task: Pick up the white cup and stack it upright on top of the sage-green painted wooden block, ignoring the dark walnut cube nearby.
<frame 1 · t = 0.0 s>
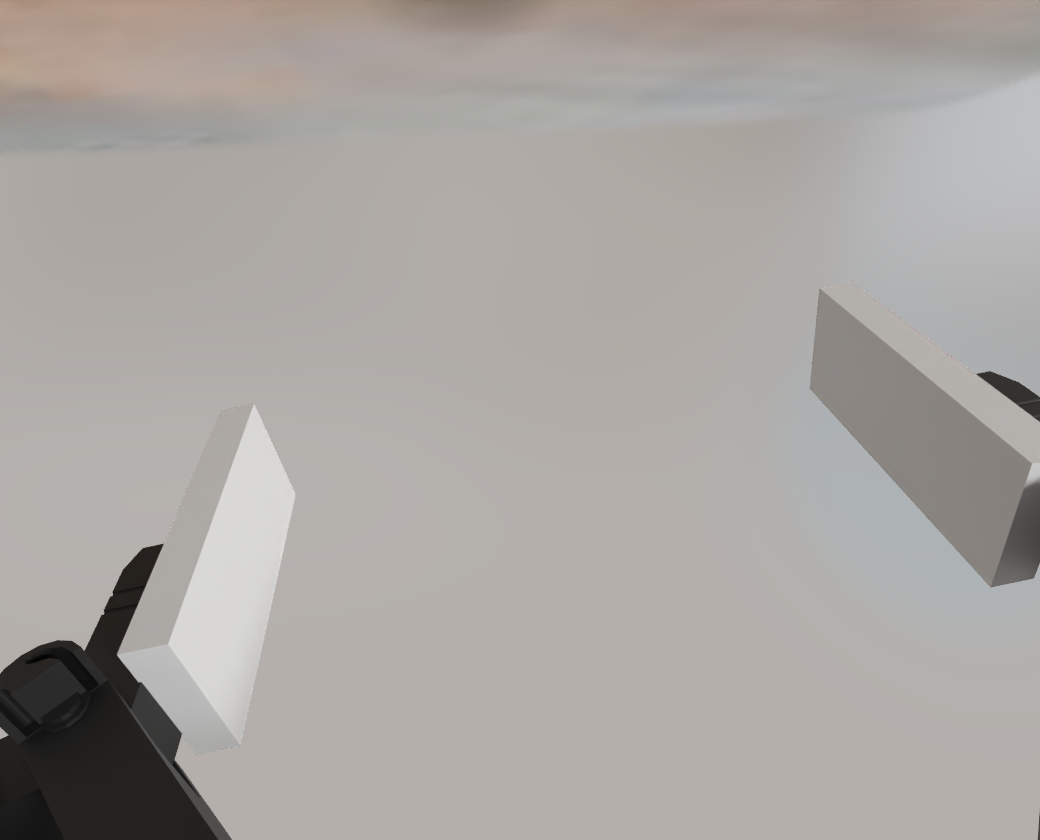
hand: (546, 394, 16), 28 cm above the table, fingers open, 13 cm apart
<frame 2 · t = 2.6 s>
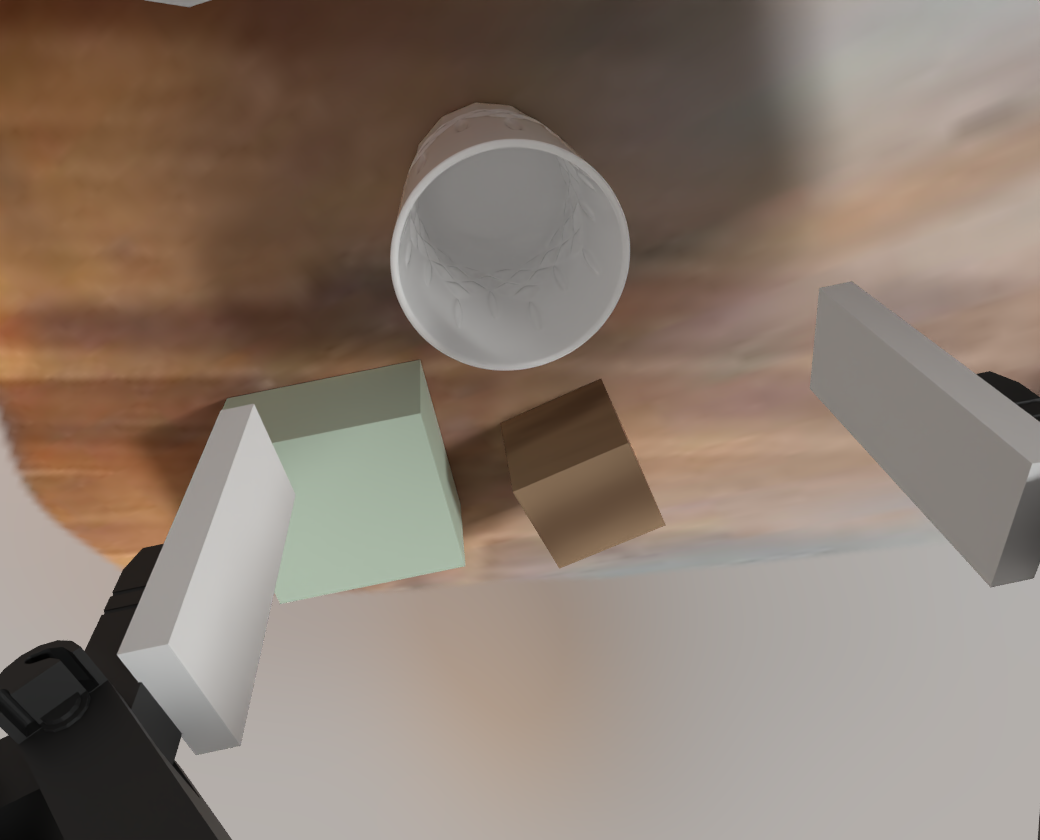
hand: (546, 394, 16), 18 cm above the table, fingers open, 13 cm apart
base block: (352, 455, 38), on the table
walnut cube: (570, 439, 40), on the table
white cup: (487, 181, 31), on the table
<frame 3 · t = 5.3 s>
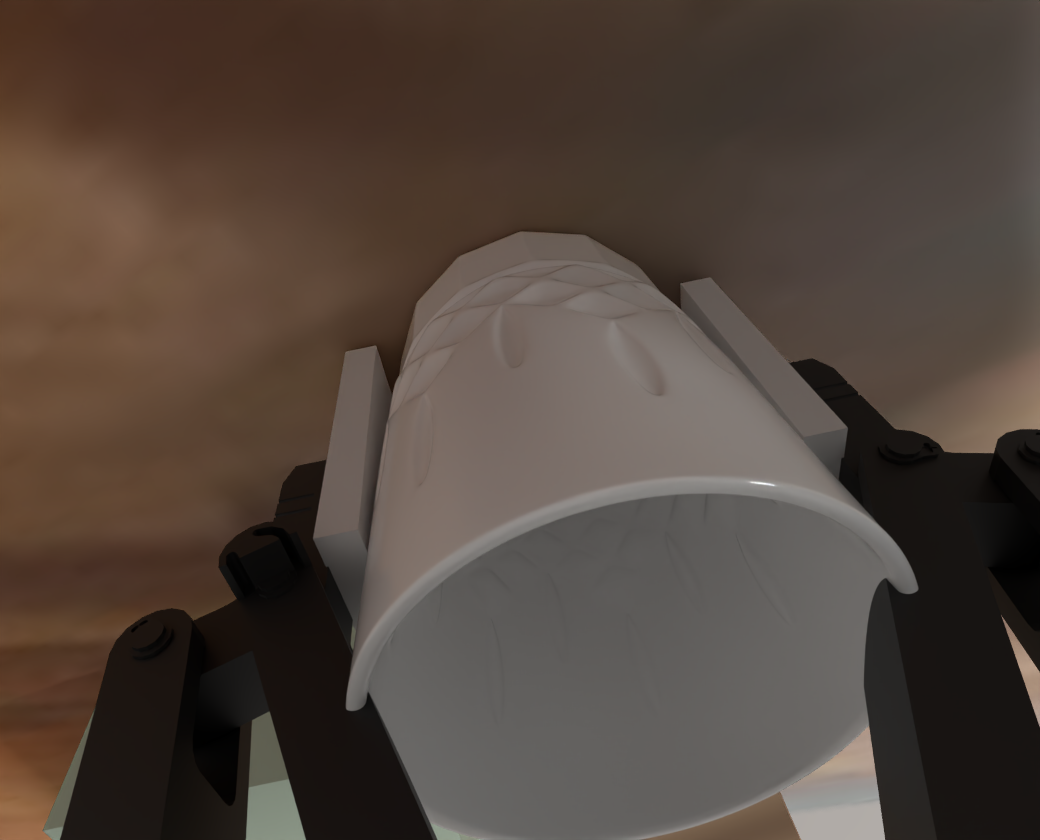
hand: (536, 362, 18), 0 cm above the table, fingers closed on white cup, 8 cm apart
base block: (317, 723, 25), on the table
walnut cube: (645, 684, 26), on the table
white cup: (535, 353, 18), on the table, touching gripper
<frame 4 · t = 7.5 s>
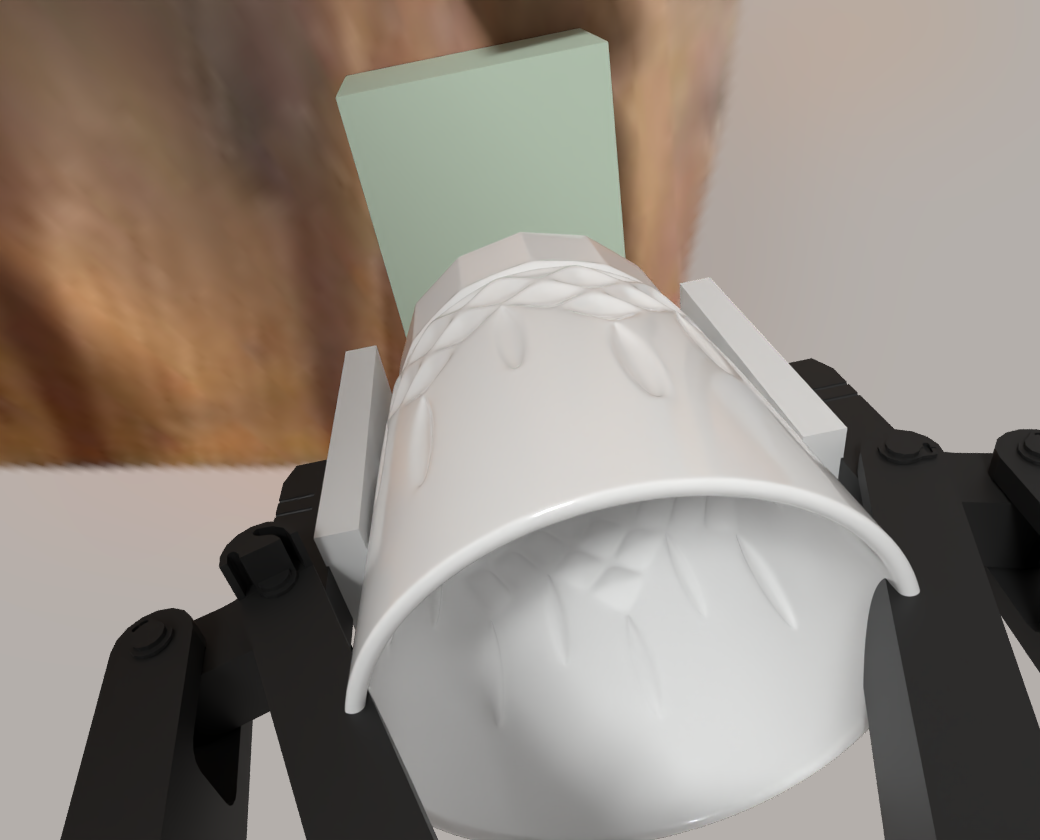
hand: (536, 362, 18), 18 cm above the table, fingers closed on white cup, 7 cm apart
base block: (485, 172, 32), on the table
white cup: (535, 353, 18), point 17 cm above the table, touching gripper
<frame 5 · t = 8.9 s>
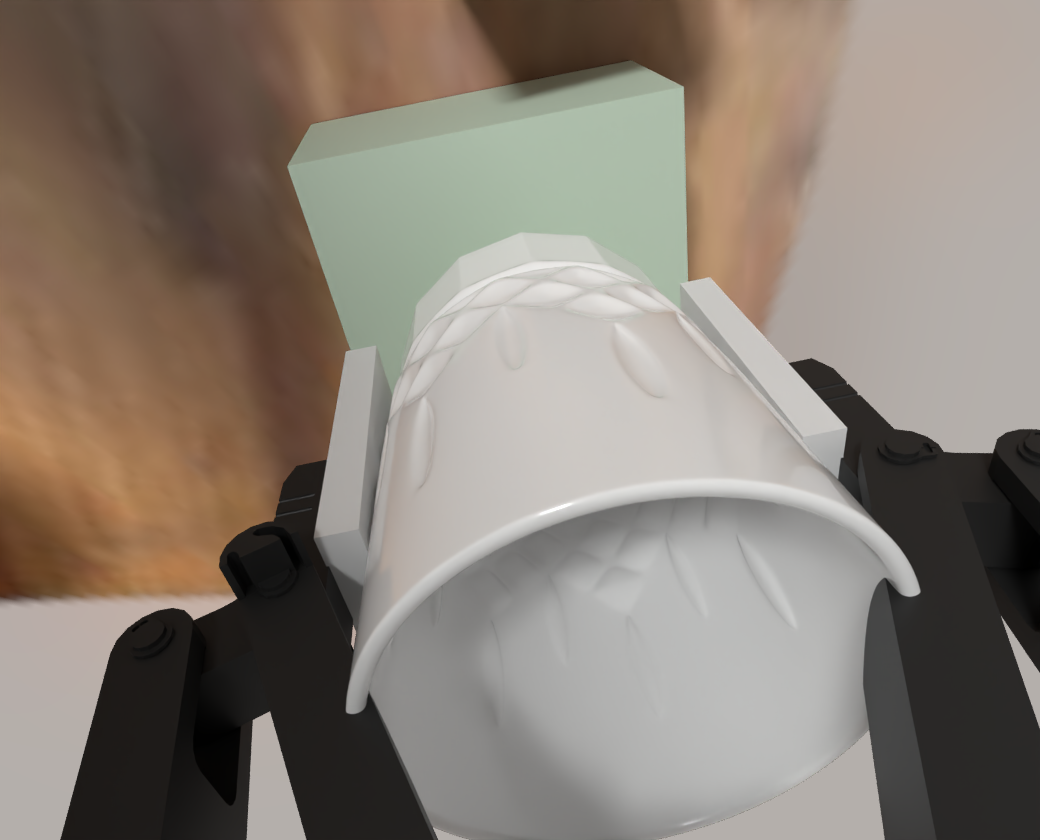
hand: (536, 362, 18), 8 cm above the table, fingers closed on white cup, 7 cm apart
base block: (500, 246, 24), on the table
white cup: (535, 354, 18), point 8 cm above the table, touching gripper
when the fingers open (7 cm above the table, at t = 10.0 s): white cup drops 1 cm, resting on base block.
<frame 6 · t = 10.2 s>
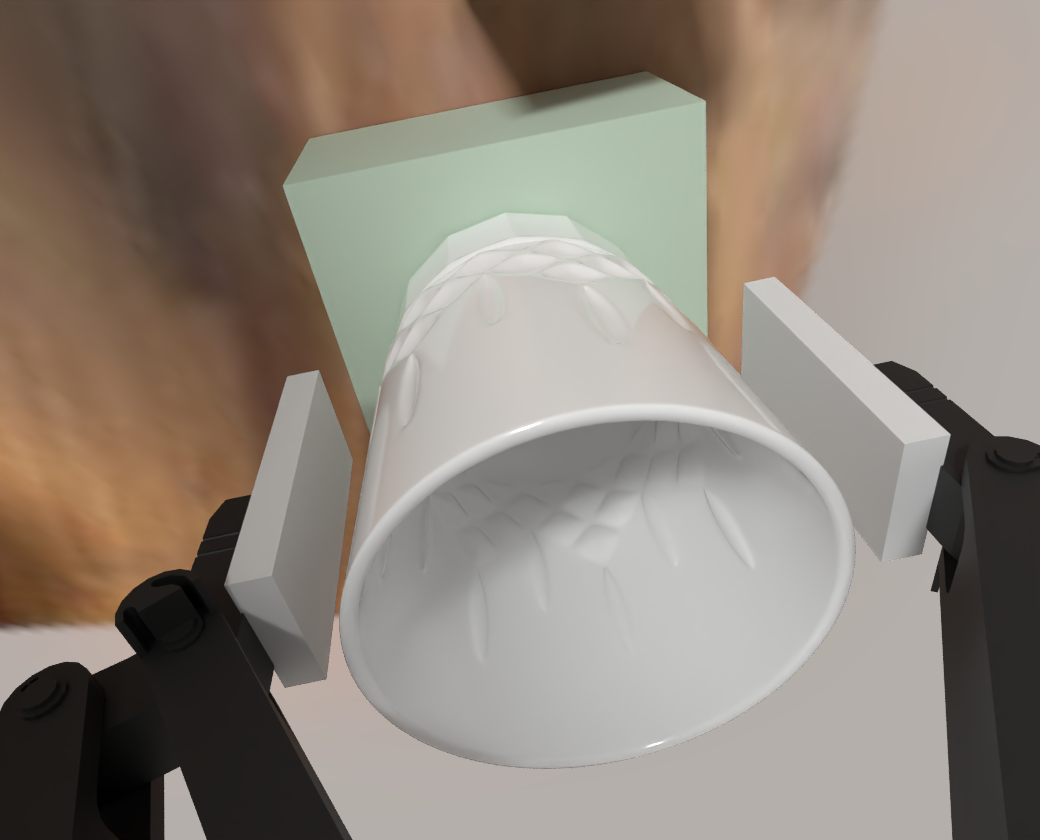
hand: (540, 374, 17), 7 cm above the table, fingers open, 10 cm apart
base block: (507, 265, 23), on the table
white cup: (521, 329, 19), point 5 cm above the table, touching base block
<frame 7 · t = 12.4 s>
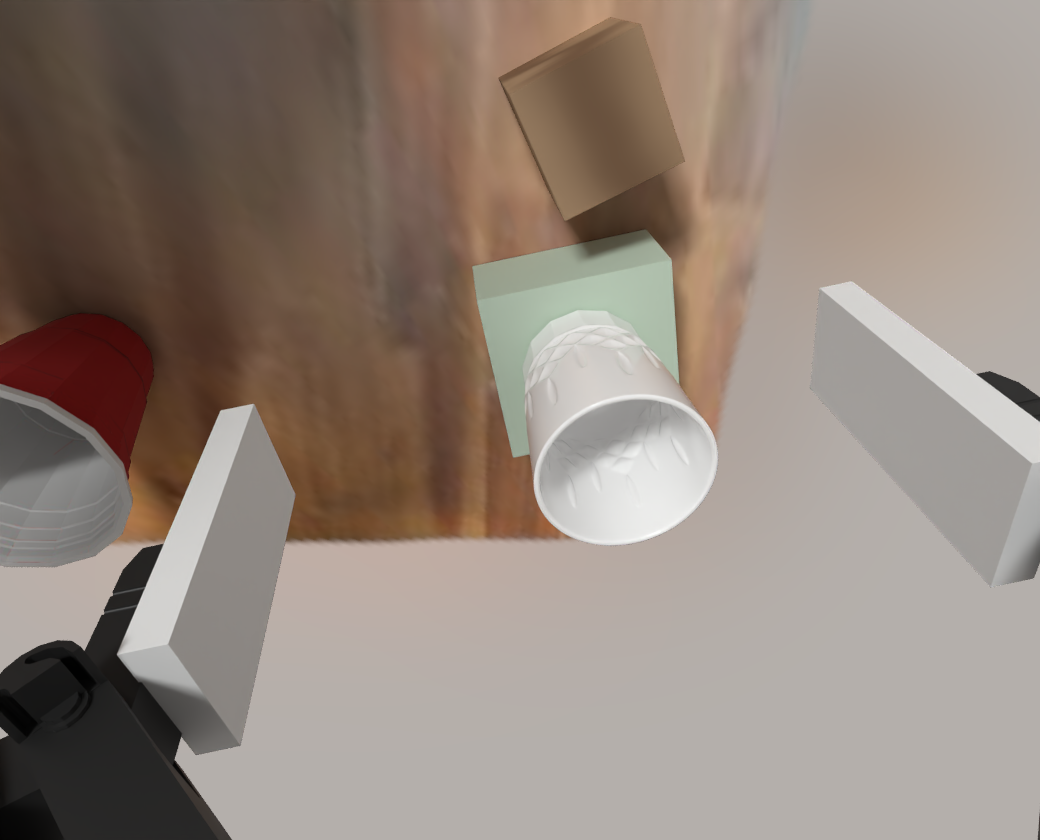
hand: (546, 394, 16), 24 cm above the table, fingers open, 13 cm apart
plastic cup: (103, 360, 40), on the table
base block: (571, 327, 42), on the table
walnut cube: (576, 107, 35), on the table
white cup: (583, 363, 38), point 5 cm above the table, touching base block
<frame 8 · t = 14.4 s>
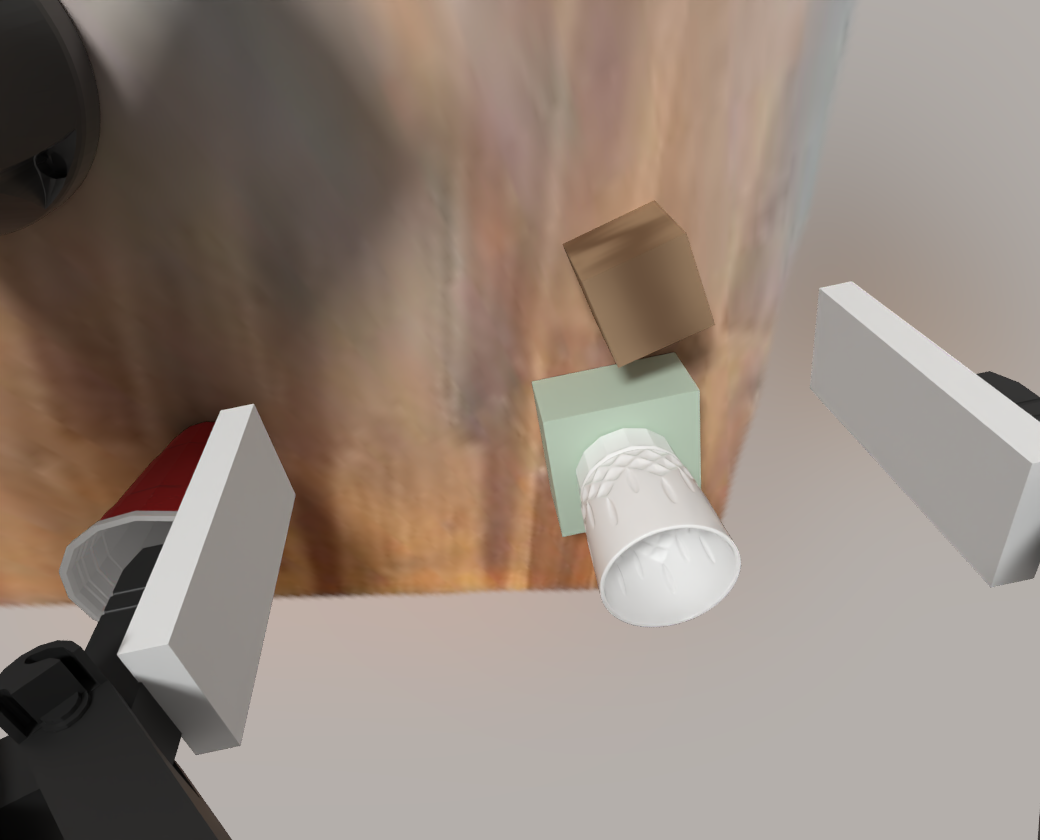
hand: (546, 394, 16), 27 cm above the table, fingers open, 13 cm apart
plastic cup: (220, 456, 48), on the table
base block: (609, 425, 50), on the table
walnut cube: (623, 264, 44), on the table
white cup: (624, 465, 46), point 5 cm above the table, touching base block
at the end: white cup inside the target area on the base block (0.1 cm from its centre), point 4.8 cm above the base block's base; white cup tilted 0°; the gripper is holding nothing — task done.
